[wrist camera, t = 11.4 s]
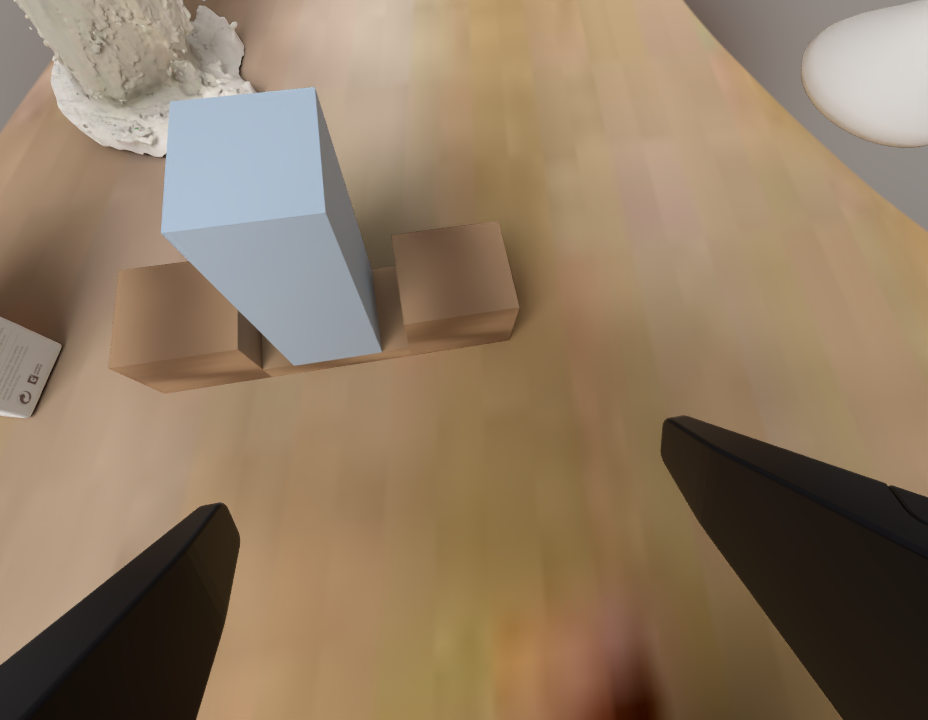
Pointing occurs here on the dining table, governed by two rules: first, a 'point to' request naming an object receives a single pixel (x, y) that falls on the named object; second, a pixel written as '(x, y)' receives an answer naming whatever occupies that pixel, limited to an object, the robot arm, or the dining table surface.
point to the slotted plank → (254, 357)
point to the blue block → (271, 220)
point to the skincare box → (23, 368)
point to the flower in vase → (873, 74)
